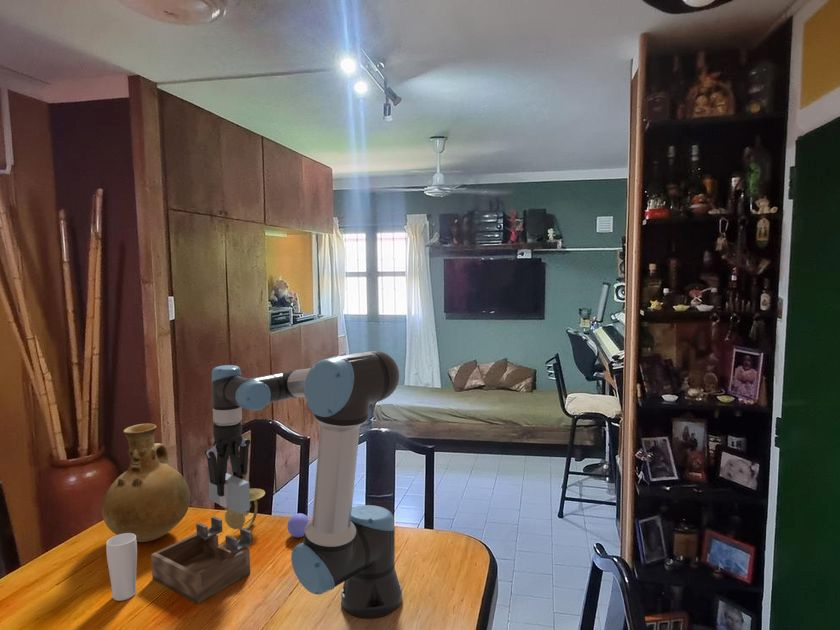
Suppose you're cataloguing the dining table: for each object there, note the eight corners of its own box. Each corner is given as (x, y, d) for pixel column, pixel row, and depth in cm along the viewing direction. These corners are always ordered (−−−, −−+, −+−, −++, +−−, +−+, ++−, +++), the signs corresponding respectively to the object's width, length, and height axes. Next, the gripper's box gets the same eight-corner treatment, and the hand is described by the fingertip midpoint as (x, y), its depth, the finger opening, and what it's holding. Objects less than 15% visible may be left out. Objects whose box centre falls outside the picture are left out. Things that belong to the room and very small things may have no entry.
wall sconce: (249, 542, 164) (246, 462, 162) (221, 538, 166) (218, 459, 164) (271, 521, 178) (269, 447, 176) (245, 518, 180) (242, 445, 178)
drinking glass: (118, 607, 133) (115, 548, 132) (103, 598, 137) (100, 541, 135) (145, 592, 139) (142, 536, 138) (130, 584, 143) (127, 530, 141)
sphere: (308, 541, 164) (307, 519, 164) (285, 541, 164) (284, 519, 164) (312, 530, 171) (312, 509, 171) (290, 530, 171) (290, 509, 171)
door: (252, 508, 150) (252, 481, 149) (240, 514, 146) (240, 485, 145) (221, 495, 157) (220, 468, 157) (209, 499, 154) (208, 472, 153)
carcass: (256, 569, 149) (255, 533, 148) (198, 604, 134) (196, 563, 133) (211, 549, 160) (210, 514, 159) (152, 579, 145) (150, 541, 144)
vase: (139, 518, 181) (133, 415, 177) (206, 522, 177) (201, 417, 174) (85, 555, 157) (78, 438, 154) (162, 561, 154) (156, 441, 151)
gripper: (243, 412, 158) (245, 490, 160) (192, 426, 144) (195, 510, 147) (260, 417, 153) (261, 496, 156) (209, 431, 140) (212, 518, 143)
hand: (229, 503), depth 151 cm, fingers closed on door, 3 cm apart
